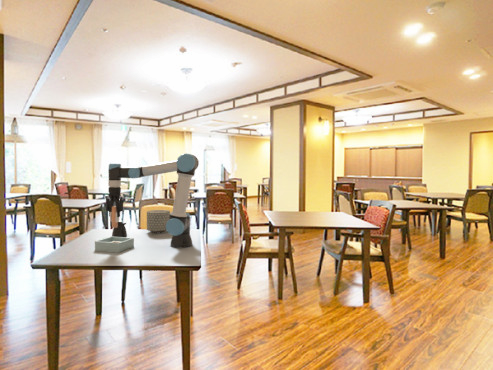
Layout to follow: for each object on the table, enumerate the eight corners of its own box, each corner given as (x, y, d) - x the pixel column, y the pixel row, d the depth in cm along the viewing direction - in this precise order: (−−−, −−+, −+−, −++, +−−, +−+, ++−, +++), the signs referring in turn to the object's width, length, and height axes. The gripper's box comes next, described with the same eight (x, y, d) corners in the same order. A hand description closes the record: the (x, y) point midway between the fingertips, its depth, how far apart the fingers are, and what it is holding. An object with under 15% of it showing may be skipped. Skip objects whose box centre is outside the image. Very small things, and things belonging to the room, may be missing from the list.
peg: (115, 227, 202) (115, 206, 201) (110, 227, 202) (110, 206, 202) (118, 226, 205) (118, 206, 204) (114, 226, 206) (114, 206, 205)
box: (133, 246, 210) (133, 238, 210) (118, 252, 195) (118, 243, 194) (111, 244, 214) (111, 236, 214) (94, 250, 199) (94, 241, 199)
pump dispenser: (121, 244, 217) (121, 222, 216) (108, 243, 219) (108, 222, 218) (130, 240, 227) (130, 220, 226) (117, 240, 229) (117, 219, 228)
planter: (164, 229, 272) (164, 209, 271) (173, 233, 257) (173, 211, 257) (143, 231, 260) (143, 210, 259) (152, 235, 245) (152, 213, 244)
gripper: (129, 186, 204) (129, 221, 205) (107, 186, 208) (107, 220, 209) (122, 187, 197) (121, 223, 198) (100, 186, 201) (100, 221, 202)
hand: (114, 221), depth 203 cm, fingers closed on peg, 3 cm apart
